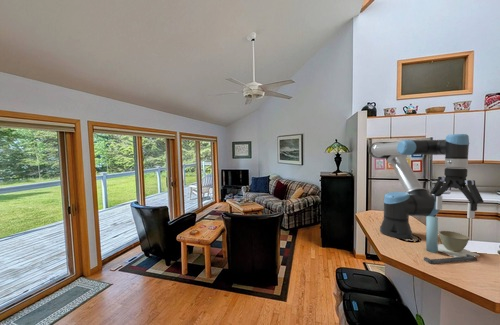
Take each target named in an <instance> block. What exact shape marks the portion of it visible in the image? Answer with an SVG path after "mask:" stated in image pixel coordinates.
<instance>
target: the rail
mask: <svg viewBox="0 0 500 325" xmlns="http://www.w3.org/2000/svg"><path fill="white" fill-rule="evenodd" d="M466 256H467V257H457V258H455V257H445V258H433V259H431V258H429V257H426V256H425V257H423V261H424V262H426V263H428V264H430V265H433V264H435V265H436V264H445V263H447V264H448V263H449V264H450V263H460V262H461V263H462V262H471V261H472V262H474V261H477V259H478V258H477V257H474V256H472V255H469V254H466Z"/></svg>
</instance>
